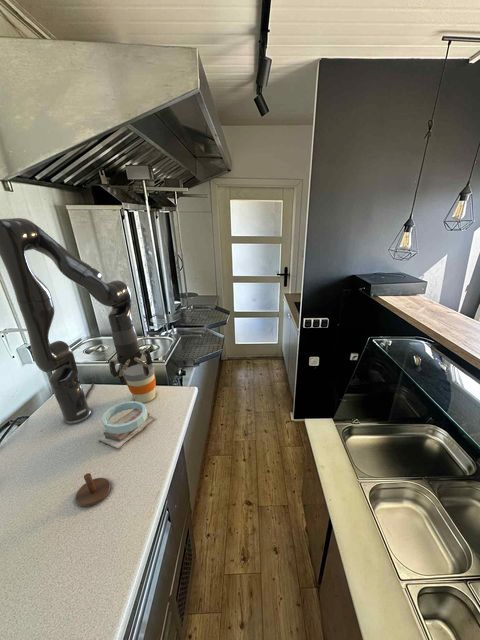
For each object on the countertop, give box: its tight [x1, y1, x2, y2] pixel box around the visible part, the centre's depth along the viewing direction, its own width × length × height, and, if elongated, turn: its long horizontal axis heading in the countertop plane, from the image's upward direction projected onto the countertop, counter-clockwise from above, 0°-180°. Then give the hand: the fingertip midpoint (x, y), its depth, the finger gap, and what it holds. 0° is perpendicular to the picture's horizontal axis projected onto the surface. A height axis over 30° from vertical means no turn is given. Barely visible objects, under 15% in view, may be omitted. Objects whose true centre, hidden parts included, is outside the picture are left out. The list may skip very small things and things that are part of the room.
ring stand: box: [75, 472, 111, 508], centre depth 85 cm, size 9×9×8 cm
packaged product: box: [98, 409, 155, 449], centre depth 110 cm, size 18×5×10 cm
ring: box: [101, 400, 148, 434], centre depth 108 cm, size 15×15×3 cm
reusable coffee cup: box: [123, 363, 157, 404], centre depth 128 cm, size 13×13×15 cm
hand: (135, 379), depth 107 cm, fingers open, 8 cm apart
